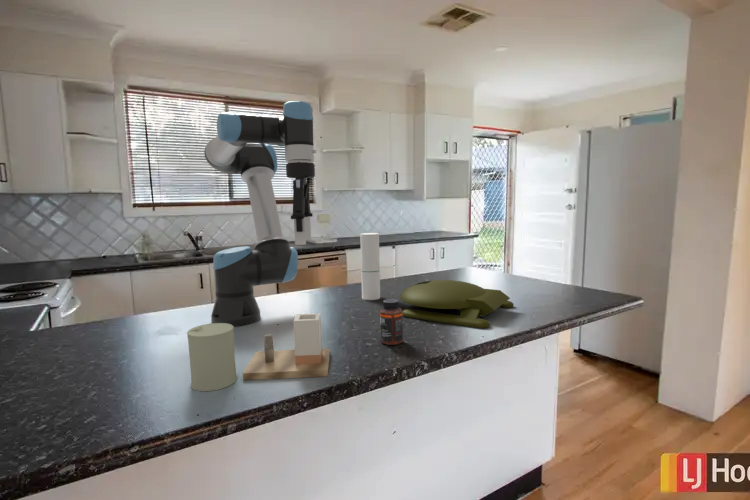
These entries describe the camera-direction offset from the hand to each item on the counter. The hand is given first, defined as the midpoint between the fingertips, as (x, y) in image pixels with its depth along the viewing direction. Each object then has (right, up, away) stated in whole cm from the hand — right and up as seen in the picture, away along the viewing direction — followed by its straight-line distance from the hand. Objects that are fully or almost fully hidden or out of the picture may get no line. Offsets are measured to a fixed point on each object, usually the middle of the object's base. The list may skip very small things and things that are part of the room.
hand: (303, 242), depth 113 cm
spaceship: (+45, -23, +28) cm, 58 cm away
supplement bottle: (+24, -27, -2) cm, 36 cm away
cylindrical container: (+18, -21, +48) cm, 55 cm away
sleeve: (+4, -27, -17) cm, 33 cm away
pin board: (0, -29, -17) cm, 34 cm away
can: (-15, -30, -24) cm, 42 cm away
